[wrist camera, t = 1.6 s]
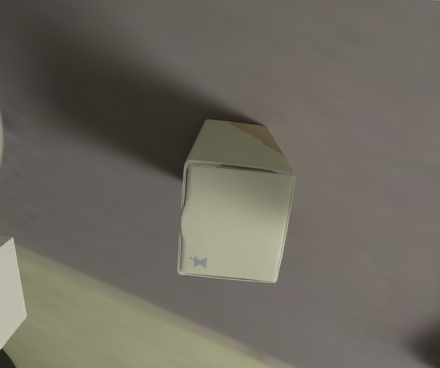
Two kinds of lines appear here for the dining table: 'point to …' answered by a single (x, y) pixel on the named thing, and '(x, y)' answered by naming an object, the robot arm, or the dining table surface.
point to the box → (234, 204)
